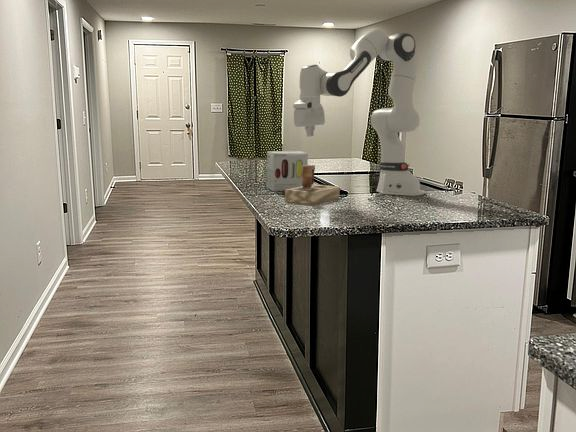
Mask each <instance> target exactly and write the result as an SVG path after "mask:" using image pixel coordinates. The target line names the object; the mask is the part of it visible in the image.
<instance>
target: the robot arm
mask: <svg viewBox="0 0 576 432" xmlns="http://www.w3.org/2000/svg"><path fill="white" fill-rule="evenodd" d="M415 53H416V40H415V38H414V37H413V35H412V34H410V33H409V32H400V33H395V34H391V35H388V34H387V33H386V31H384V30H383V29H382V28H379V27H376V28H373V29H371V30H369V31H368V32H366V33H365V34H363V35H362V36H361V37H360V38H358V39H357V40H356V41H355V42H354V43H353V44H352V46H351V47H350V48H349V56H350V59H351V62H349V64H348V65H347V66H346V67H345V68H344V69H343V70H340V71H336V72H329V71H326V70H324V69H322V68H321V67H320V66H319V65H318V64H311V65H305V66H303V67H301V69H300V72H299V89H300V94H299V99H298V100H297V101H296V102H294V103H293V104H292V105H293V109H294V111H293V124H294V126H295V127H297V128H298V127H299V128H300V127H301V128H302V127H304V129H305V132H306V137H314V136H315V134H314V132H315V130H316V126H321V125H322V126H323V125H325V123H326V121H325V120H326V118H325V117H326V116H325V109H324V107H323V105H322V103H321V96H326V97H331V96H332V97H333V96H334V97H339V98H341V97H344V96H345V95H347V94H348V93H349V92H350V90H351V87H352V86H353V84H354V82H355V81H356V79H357V78H359V77H360V75H361V74H362V73H363V72H364V71H365V70H366V69H367V68H368V66H369V65H370V64H371V63H372V62H373V61H374V60H375V59H376V58H377V59H378V60H379V61H382V62H390V61H392V65H393V69H392V72H391V77H390V82H389V86H388V91H387V93H388V95H389V98H391V99H392V100H393V107H382V108H378V109H376V110H374V111H373V112H372V113H371V116H370V125H371V127H372V128H373V130H375V132H376V135H377V136H378V138H379V142H380V161H379V179H378V183H377V188H376V192H378V193H380V194H383V195H394V196H395V195H396V196H407V197H409V196H414V197H415V196H422V195H425V194H426V191H425V190H421V182H420V180H419V179H418V178H417V177H416V176H415V175H414V174H413V173H412V172H411V171H409V167H410V164H409V163H407V162H405V161H406V160H405V159H406V145H405V143H404V142H403V141H402V140H401V139H400V137H399V135H398V133H403V134H405V133H411V132H414V131H416V130H417V128H418V127H419V126H420V122H421V121H420V120H421V118H420V115H419V113H418V112H417V110H416V109H415V107H414V103H413V94H414V87H415V82H416V77H417V67H418V66H417V65H418V64H417V63H418V62H417V59H416V57H414V56H415Z"/></svg>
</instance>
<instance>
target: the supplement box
mask: <svg viewBox="0 0 576 432" xmlns="http://www.w3.org/2000/svg"><path fill="white" fill-rule="evenodd" d="M308 155H309V154H308V152H305V151H302V150H280V151H279V150H277V151H275V150H274V151H273V150H272V151H270V150H269V151H267V152H266V188H267V189H268V190H270V191H272V192H282V191H284V192H285V190H286V189H291V188H296V187H301V186H302V166H304V165H309V164H308V163H309V162H308V161H309V160H308V158H309V157H308Z"/></svg>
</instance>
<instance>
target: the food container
mask: <svg viewBox="0 0 576 432" xmlns="http://www.w3.org/2000/svg"><path fill="white" fill-rule="evenodd" d="M310 166H312V184H315V171H316V165H315V164H314V165H313V164H312V165H311V164H310Z"/></svg>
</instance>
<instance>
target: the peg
mask: <svg viewBox="0 0 576 432" xmlns="http://www.w3.org/2000/svg"><path fill="white" fill-rule="evenodd" d="M310 165H311V164H310ZM310 165H309V164H308V165H304V166H302V186H303V189H302V190H312V189H311V186H312V166H310Z"/></svg>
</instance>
